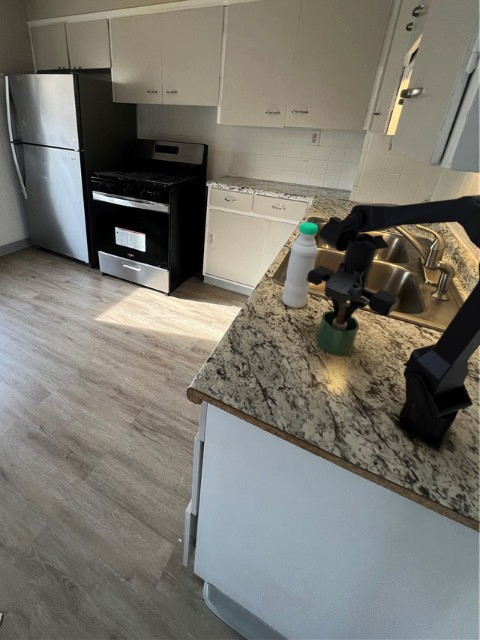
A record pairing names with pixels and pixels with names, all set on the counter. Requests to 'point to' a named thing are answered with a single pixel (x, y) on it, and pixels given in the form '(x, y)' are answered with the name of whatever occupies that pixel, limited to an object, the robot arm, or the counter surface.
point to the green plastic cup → (336, 335)
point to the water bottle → (300, 266)
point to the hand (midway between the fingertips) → (341, 318)
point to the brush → (341, 317)
